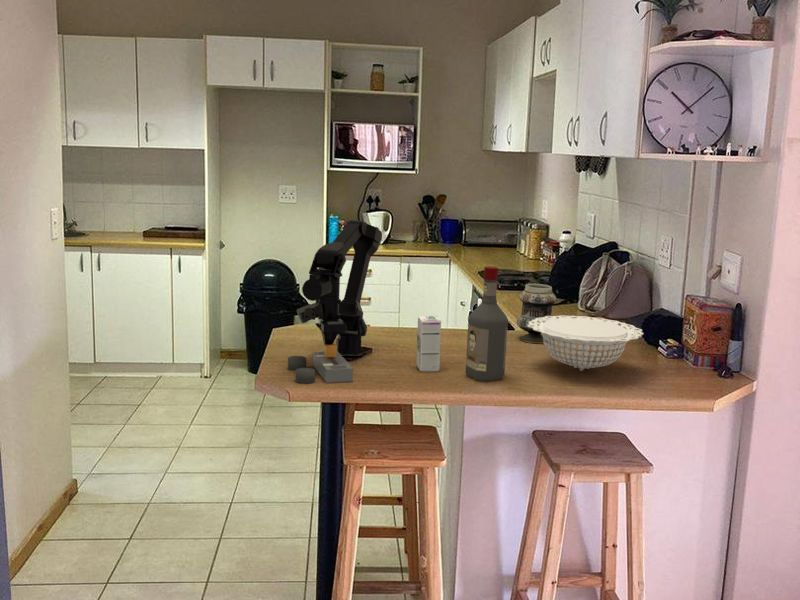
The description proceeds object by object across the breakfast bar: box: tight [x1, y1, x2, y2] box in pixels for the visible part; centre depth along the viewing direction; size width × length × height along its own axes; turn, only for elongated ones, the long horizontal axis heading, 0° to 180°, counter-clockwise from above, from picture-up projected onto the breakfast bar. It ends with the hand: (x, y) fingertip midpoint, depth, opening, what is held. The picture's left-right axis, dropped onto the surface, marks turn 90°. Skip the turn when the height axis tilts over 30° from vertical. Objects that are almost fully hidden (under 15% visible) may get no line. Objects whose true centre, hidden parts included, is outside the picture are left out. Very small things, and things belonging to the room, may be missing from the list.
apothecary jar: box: [516, 283, 557, 344], centre depth 267 cm, size 12×12×18 cm
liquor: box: [464, 266, 509, 383], centre depth 221 cm, size 9×9×30 cm
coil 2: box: [295, 367, 316, 385], centre depth 214 cm, size 5×5×3 cm
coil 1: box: [287, 355, 307, 372], centre depth 225 cm, size 5×5×3 cm
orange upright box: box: [323, 343, 337, 357], centre depth 224 cm, size 3×2×3 cm, turn 107°
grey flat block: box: [312, 351, 354, 384], centre depth 222 cm, size 7×18×4 cm, turn 17°
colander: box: [528, 315, 644, 372], centre depth 233 cm, size 32×32×13 cm
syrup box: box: [415, 315, 442, 372], centre depth 228 cm, size 6×6×14 cm
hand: (327, 350), depth 227 cm, fingers closed
